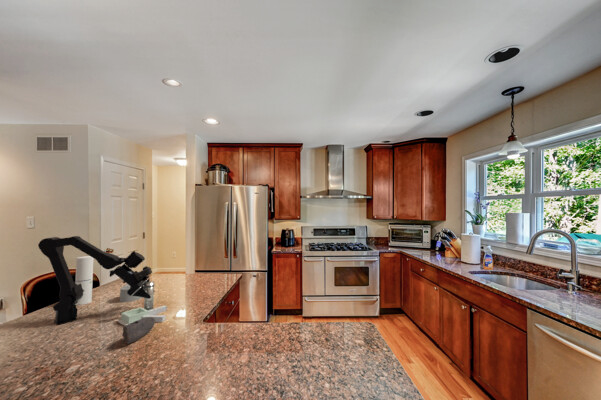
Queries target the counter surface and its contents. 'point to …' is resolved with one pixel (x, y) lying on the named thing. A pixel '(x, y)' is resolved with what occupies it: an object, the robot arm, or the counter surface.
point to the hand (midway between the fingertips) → (152, 294)
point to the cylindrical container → (84, 278)
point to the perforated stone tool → (137, 329)
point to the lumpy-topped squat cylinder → (124, 296)
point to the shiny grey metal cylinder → (150, 289)
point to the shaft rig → (142, 315)
